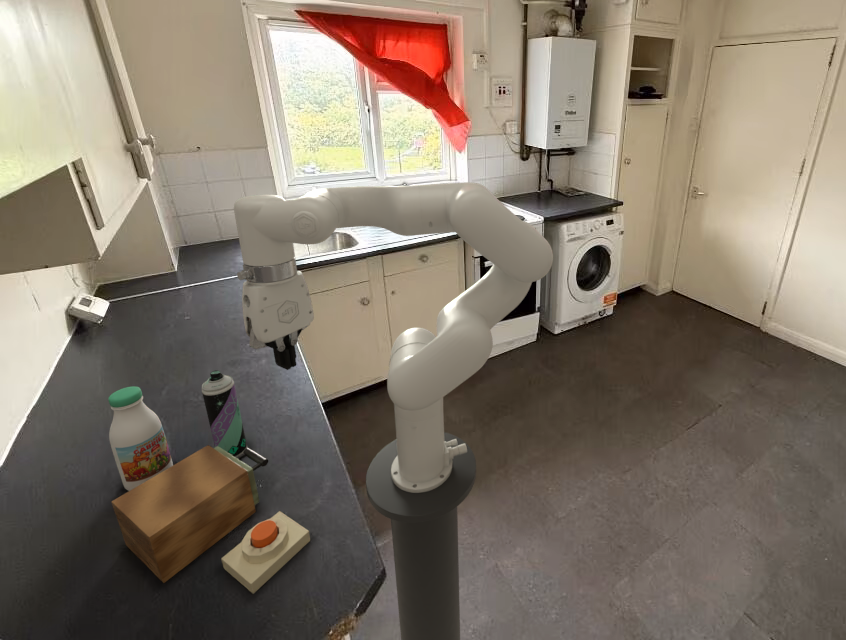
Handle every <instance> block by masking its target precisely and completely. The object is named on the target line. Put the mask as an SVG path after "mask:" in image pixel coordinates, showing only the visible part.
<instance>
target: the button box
mask: <svg viewBox="0 0 846 640" xmlns="http://www.w3.org/2000/svg"><path fill="white" fill-rule="evenodd" d="M267 520H271V521H274V522H275V523H276V527H277V532H278V534H277V537H276V539H275V540H274V541H273V542H272V543H271V544H270V545H268V546H266V547H263V548H256V547H254V546H253V543H252V539H251V532H252V530H253V529H254V528H255V527H256V526H257V525H258V524H259V523H261V522H264V521H267ZM309 542H311V535H310V530H308V529H307V528H305V527H304V526H302V525H301V524H299V523H298V522H297V521H295V520H293V519H292V518H291V517H289V516H288V515H286V514H284V513H283V512H282V511H280V510H279V511H278V512H277V513H276V514H274V515H273V516H271V517H270V518H267V519H266V520H263V521H260V522H258V523H257V524H255V525H254V526H252V528H250V529H249V530H248V531H247V532H246V533H245V535H244V537H243V539H242V540H241V541H240V543H238V544H237V545H235V547H233V548H232V549H231V550H230V551H228V552H227V553H226V554H225V555H224V556H222V557H221V564H222V567H223V569H224V570H225V571H226V572H227V573H228V574H230V575H231V577H233V578H234V579H235V580H237V581H238V583H240V584H241V585H242V586H244V588H246V589H247V591H248V592H250V593H251V594H252V595H254V594H255V593H256V592H258V590H260V588H261V587H263V586H264V585H265V584H266V583H267V582H268V581H269V580H270V579H271V578H272V577H273V576H274V575H275V574H277V573H278V572H279V571H280V570H281V569H283V567H284V566H285V565H286V564H287V563H288V562H289V561H290V560H291V559H292V558H293V557H295V556H296V555H297V554H298V553H299V552H300V551H301V550H302V549H303V548H304V547H305V546H307V544H309Z"/></svg>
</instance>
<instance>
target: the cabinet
mask: <svg viewBox="0 0 846 640" xmlns="http://www.w3.org/2000/svg"><path fill="white" fill-rule="evenodd" d="M214 448H215V447H212V446H211V445H209V444H208V445H206V446H204V447H202V448H200V449H198V450H197V451H195V452H194V453H192V454H190V455H188V456H187V457H184V458H183V459H182V460H180V461H178V462H177V463H174V464H173V466H171V467H170V468H168V469H166V470H165V471H163V472H161V473H159V474H158V475H156V476H154V477H153V478H151V479H149V480H147V481H146V482H144V483H142V484H141V485H139V486H137V487H135V488H134V489H132V490H130V491H127V492H125V493H123V494H122V495H120V496H119V497H117V498H115V499H113V500H112V501H111V505H112V508H113V512H114V514H115V518H116V520H117V522H118V525H119V526H118V527H119V529H120V531H121V535H122V538H123V540H124V543H125V546H126V547H127V548H128V549H129V550H130V551H131V552H132V553H133V554H134V555H135V556H136V557H137V558H138V559H139V560H140V561H141V562H142V564H144V565H145V566H146V567H147V568H148V570H150V571H151V572H152V573H153V574H154V576H156V577H157V578H158V579H159V580H160V581H161V582H162V583H163V584H165V583H166V582H168V581H169V580H170V579H172V577H174V576H176V574H178V573H179V572H181V571H182V570H183V569H184V568H186V567H187V566H188V565H189V564H191V563H192V562H194V560H196V559H197V558H199V557H200V556H201V555H202V554H203V553H205V552H206V551H208V550H209V549H210V548H211V547H212V546H214V545H216V544H217V543H218V542H219V541H220V540H222V539H223V538H224V537H226V536H227V535H228V534H229V533H231V532H232V531H233V530H235V529H236V528H237V527H239V526H240V525H242V523H243V522H245V521H246V520H247V519H249V518H250V517H251V516H252V515H254V514H255V513H256V512H257V511H256V505H254V500H253V495H252V491H251V486H250V481H249V476H248V472H247V470H246V469H244V468H243V467H241V466H240V465H238V464H237V463H235V462H233V461H232V460H230V459H229V458H227V457H226V456H224V455H223V454H221V453H220V452H218V451H217V450H215V449H214Z"/></svg>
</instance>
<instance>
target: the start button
mask: <svg viewBox="0 0 846 640" xmlns="http://www.w3.org/2000/svg"><path fill="white" fill-rule="evenodd" d="M266 520H267V521H265V520H263V521H264V522H263V521H260V522H261V523H260V522H258V523H259V524H258V523H257V524H258V525H257V524H256V525H257V526H256V527H255V528H254V529H253V530H252V532H251V539H252V543H253V546H254V547H256V548H263V547H266V546H268V545H270V544H271V543H272V542H273V541H274V540H275V539H276V537H277V534H278V532H277V527H276V523H275V522H274V521H271V520H268V519H266Z"/></svg>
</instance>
